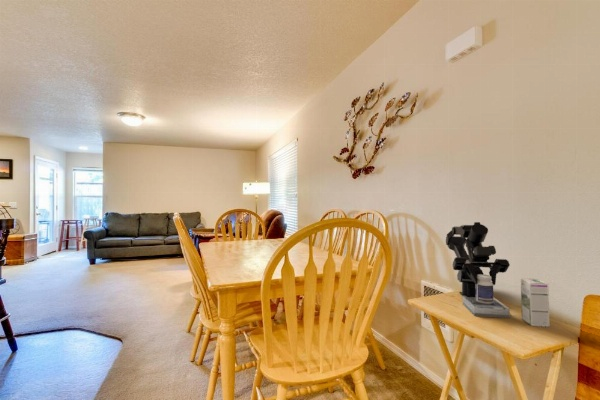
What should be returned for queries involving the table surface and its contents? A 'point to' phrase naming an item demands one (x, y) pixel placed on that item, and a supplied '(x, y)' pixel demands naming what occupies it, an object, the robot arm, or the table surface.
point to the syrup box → (535, 302)
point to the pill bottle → (484, 289)
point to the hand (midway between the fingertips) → (485, 284)
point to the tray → (486, 308)
